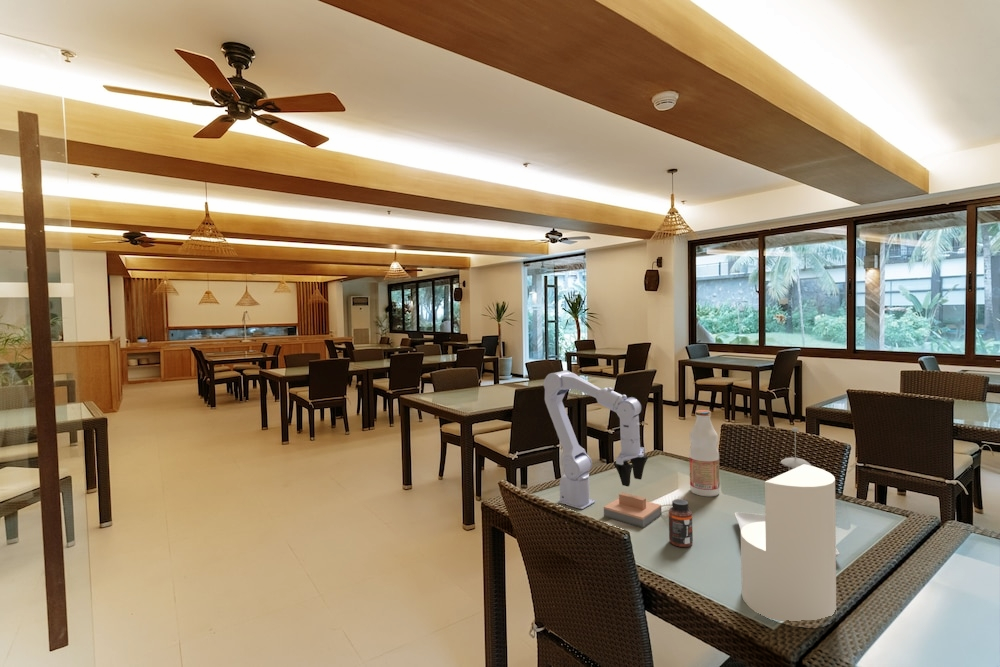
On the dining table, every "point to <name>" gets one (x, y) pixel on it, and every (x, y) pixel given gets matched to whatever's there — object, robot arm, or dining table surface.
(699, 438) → the fruit juice
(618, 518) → the tub
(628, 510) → the lid
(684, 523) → the supplement bottle
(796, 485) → the white stepped round block
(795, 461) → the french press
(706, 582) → the dining table surface
